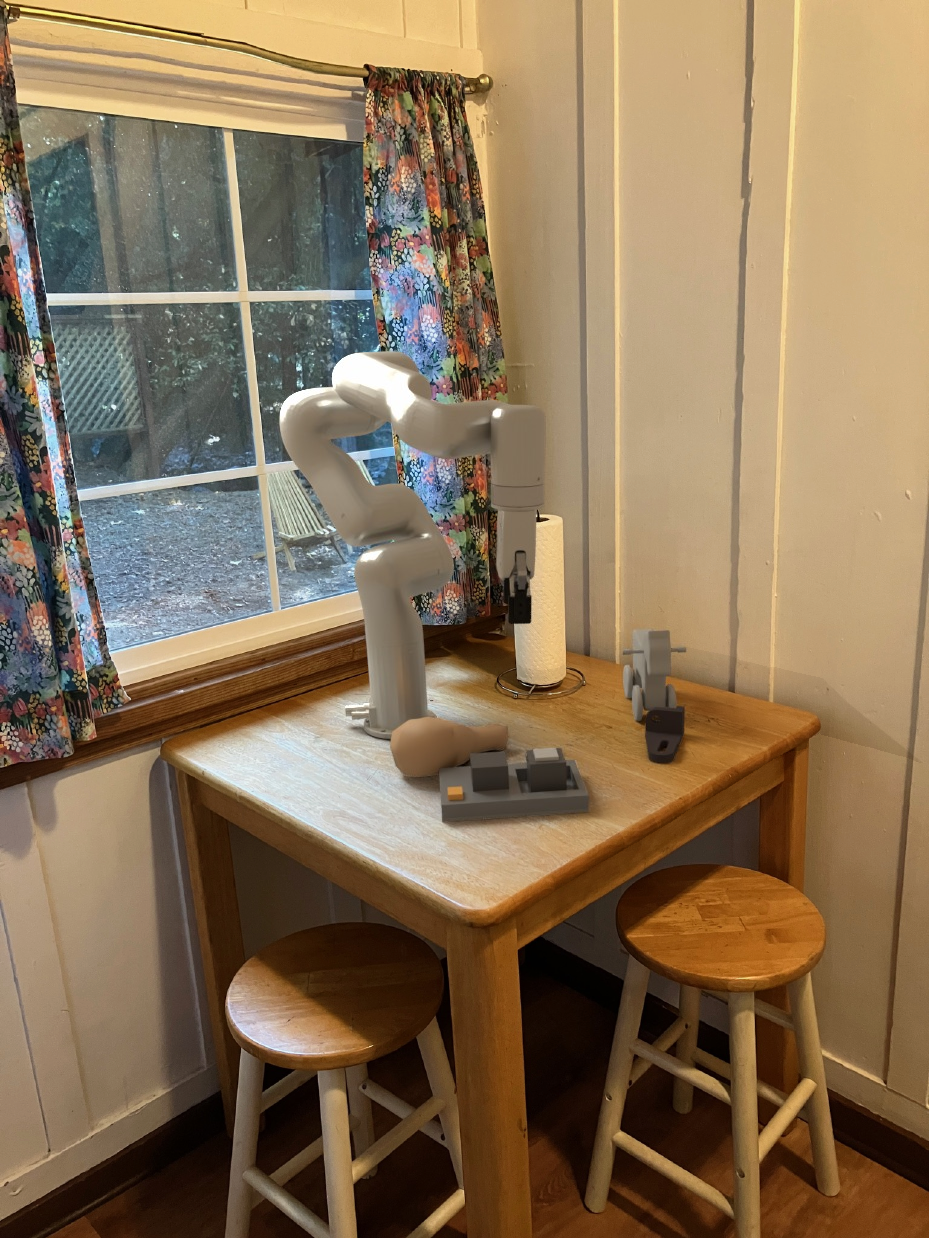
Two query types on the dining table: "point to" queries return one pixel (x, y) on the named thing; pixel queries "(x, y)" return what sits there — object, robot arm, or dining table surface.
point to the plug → (546, 770)
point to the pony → (650, 671)
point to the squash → (441, 744)
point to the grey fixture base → (504, 791)
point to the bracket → (664, 733)
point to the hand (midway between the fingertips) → (517, 612)
